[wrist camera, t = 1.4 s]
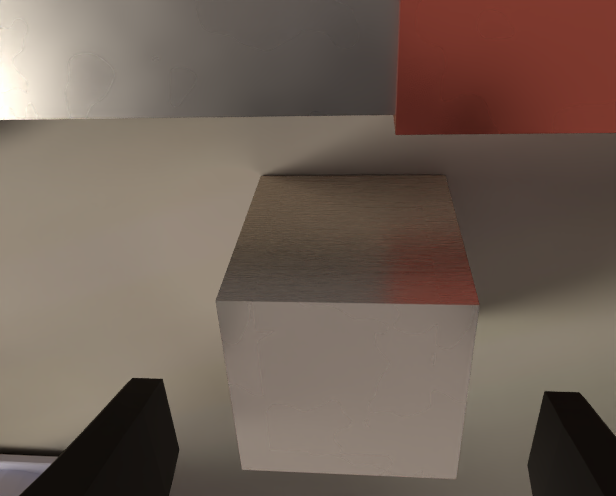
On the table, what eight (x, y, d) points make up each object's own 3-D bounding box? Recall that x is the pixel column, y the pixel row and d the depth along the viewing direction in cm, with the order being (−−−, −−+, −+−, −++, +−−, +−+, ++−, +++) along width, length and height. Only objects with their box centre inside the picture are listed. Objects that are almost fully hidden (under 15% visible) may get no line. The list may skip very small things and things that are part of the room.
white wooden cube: (432, 321, 18) (456, 478, 13) (274, 318, 18) (241, 469, 14) (444, 175, 15) (479, 305, 11) (260, 175, 16) (215, 300, 11)
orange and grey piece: (636, 150, 15) (732, 246, 11) (-184, 155, 17) (-349, 237, 13) (713, -143, 11) (888, -154, 8) (-311, -91, 13) (-578, -79, 10)
